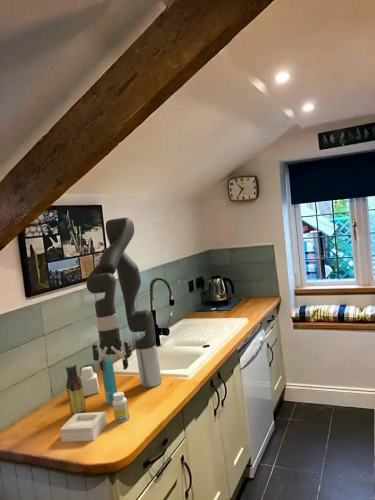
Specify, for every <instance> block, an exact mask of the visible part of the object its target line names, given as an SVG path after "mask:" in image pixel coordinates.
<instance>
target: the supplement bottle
mask: <svg viewBox="0 0 375 500" xmlns="http://www.w3.org/2000/svg"><path fill="white" fill-rule="evenodd" d="M113 398H114V400H113V404H112V408H113V413H114V420H115V421H116V422H117V423H122V422H126V421H128V420H129V419H130V409H129V405H128V399H127V398H126V397H125V393H124V391H117V392H116V393H114V394H113Z"/></svg>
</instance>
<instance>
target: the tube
mask: <svg viewBox="0 0 375 500" xmlns="http://www.w3.org/2000/svg"><path fill="white" fill-rule="evenodd" d="M104 360H105V366H106V370H105V371H102V370H101V375H102V382H103V387H104V395H105V399H106V400H105V401H106V404H107V405H113V400H114V398H113V394H114V393H116V392H118V389H117V382H116V375H115V370H114V363H113V357H111V356H109V357H108V356H105V357H104Z"/></svg>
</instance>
